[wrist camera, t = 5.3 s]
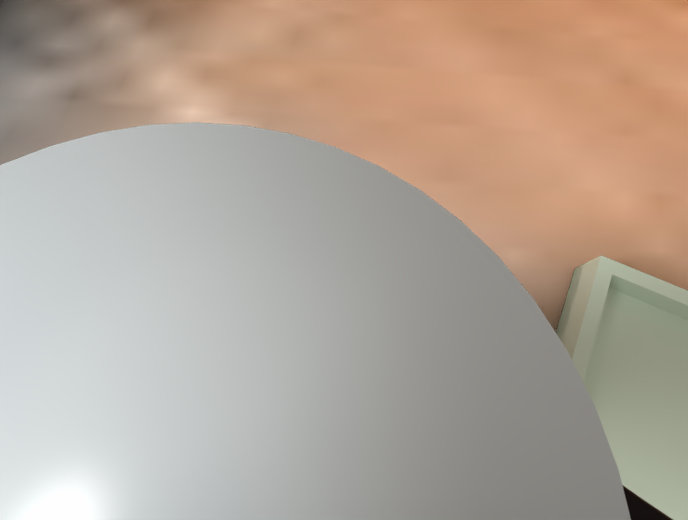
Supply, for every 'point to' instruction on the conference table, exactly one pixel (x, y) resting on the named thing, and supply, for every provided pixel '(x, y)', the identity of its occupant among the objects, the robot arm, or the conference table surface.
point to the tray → (634, 373)
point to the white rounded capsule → (272, 344)
